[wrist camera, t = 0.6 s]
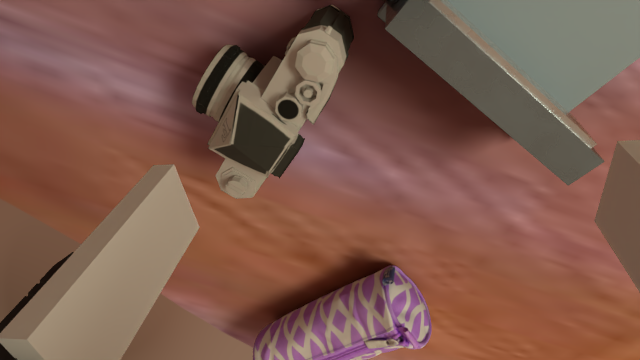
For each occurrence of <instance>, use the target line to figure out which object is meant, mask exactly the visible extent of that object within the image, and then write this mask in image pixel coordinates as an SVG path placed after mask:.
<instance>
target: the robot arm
mask: <svg viewBox="0 0 640 360" xmlns="http://www.w3.org/2000/svg"><path fill="white" fill-rule="evenodd" d="M595 223H596V224H597V226H598V227H599V229H600V230H601V232H602V234H603V235H604V237H605V238H606V240H607V241H608V243H609V245H610V246H611V248H612V249H613V251H614V252H615V254H616V256H617V257H618V259H619V260H620V262H621V263H622V265H623V267H624V268H625V270H626V271H627V273H628V275H629V276H630V278H631V279H632V281H633V282H634V284H635V286H636V287H637V289H638V290H639V292H640V140H632V141H617V144H616V148H615V151H614V155H613V158H612V162H611V165H610V169H609V172H608V176H607V179H606V183H605V186H604V189H603V193H602V196H601V200H600V203H599V207H598V210H597V214H596V217H595ZM198 229H199V225H198V223H197V220H196V218H195V215H194V213H193V210H192V208H191V205H190V203H189V200H188V198H187V195H186V193H185V190H184V188H183V185H182V183H181V180H180V178H179V175H178V173H177V171H176V168H175V166H174V164H172V165H153V167H152V168H151V169H150V170H149V171H148V172H147V173H146V174H145V175H144V176H143V178H142V179H141V180H140V181H139V182H138V183H137V184H136V185H135V186H134V187H133V188H132V190H131V191H130V192H129V193H128V194H127V195H126V196H125V197H124V198H123V199H122V200H121V202H120V203H119V204H118V205H117V206H116V207H115V208H114V209H113V210H112V211H111V213H110V214H109V215H108V216H107V217H106V218H105V219H104V220H103V221H102V222H101V223H100V225H99V226H98V227H97V228H96V229H95V230H94V231H93V232H92V233H91V234H90V235H89V237H88V238H87V239H86V240H85V241H84V242H83V243H82V244H81V245H80V246H79V248H78V249H77V250H76V251H75V252H72V253H71V254H69V255H68V256H67V257H65V258H64V259H62V260H61V261H59V262H58V263H57V264H55V265H54V266H53V267H52V268H51V269H50V270H49V271H48V272H47V273H46V275H45V276H44V277H43V278H42V279H41V280H40V283H39V284H36V285H35V286H34V287H33V289H31V291H30V292H29V293H28V296H25V297H24V298H23V299H22V300H21V301H20V302H19V304H18V305H16V307H15V308H14V309H13V310H12V311H11V312H10V313H9V314H8V315H7V316H6V317H5V318H4V319H3V320H2V321H1V323H0V360H121V358H122V356H123V355H124V353H125V351H126V349H127V348H128V346H129V344H130V343H131V341H132V339H133V338H134V336H135V334H136V333H137V331H138V329H139V328H140V326H141V324H142V323H143V321H144V319H145V318H146V316H147V314H148V313H149V311H150V309H151V308H152V306H153V304H154V303H155V301H156V299H157V298H158V296H159V294H160V293H161V291H162V289H163V288H164V286H165V284H166V283H167V281H168V279H169V278H170V276H171V274H172V273H173V271H174V269H175V268H176V266H177V264H178V262H179V261H180V259H181V257H182V256H183V254H184V252H185V251H186V249H187V247H188V246H189V244H190V242H191V241H192V239H193V237H194V236H195V234H196V232H197V231H198Z"/></svg>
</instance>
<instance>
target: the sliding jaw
mask: <svg viewBox="0 0 640 360" xmlns="http://www.w3.org/2000/svg"><path fill="white" fill-rule="evenodd" d="M383 1H384V2H385V3H386V4H387V8H386V21H385V29H386V30H387V31H388V32H389V33H390V34H391V35H393V36H394V37H395V38H396V39H397V40H398V41H400V42H401V43H402V44H403V45H404V46H405V47H407V48H408V49H409V50H410V51H411V52H412V53H414V54H415V55H416V56H417V57H418V58H419V59H421V60H422V61H423V62H424V63H425V64H426V65H428V66H429V67H430V68H431V69H432V70H433V71H435V72H436V73H437V74H438V75H439V76H441V77H442V78H443V79H444V80H445V81H446V82H448V83H449V84H450V85H451V86H452V87H453V88H455V89H456V90H457V91H458V92H459V93H460V94H462V95H463V96H464V97H465V98H466V99H467V100H469V101H470V102H471V103H472V104H473V105H474V106H476V107H477V108H478V109H479V110H480V111H481V112H483V113H484V114H485V115H486V116H487V117H488V118H490V119H491V120H492V121H493V122H494V123H496V124H497V125H498V126H499V127H500V128H501V129H503V130H504V131H505V132H506V133H507V134H508V135H510V136H511V137H512V138H513V139H514V140H515V141H517V142H518V143H519V144H520V145H521V146H522V147H524V148H525V149H526V150H527V151H528V152H529V153H531V154H532V155H533V156H534V157H535V158H536V159H538V160H539V161H540V162H541V163H542V164H543V165H545V166H546V167H547V168H548V169H549V170H551V171H552V172H553V173H554V174H555V175H556V176H558V177H559V178H560V179H561V180H562V181H563V182H565V183H566V184H567V185H570V184H571V183H573V182H574V181H576V180H577V179H579V178H580V177H582V176H583V175H585V174H586V173H588V172H589V171H591V170H592V169H594V168H595V167H597V166H598V165H600V164H601V163H603V162H604V160H603V159H602V158H601V157H600V155H599V154H598V153H597V152H596V151H595V149H594V148H593V147H594V146H595V145H597V143H596V142H595V141H594V140H593V139H592V137H591V136H590V135H589V134H588V133H587V132H586V130H585V129H584V128H583V127H582V126H581V125H580V123H579V122H578V121H577V120H576V119H575V117H574V116H573V115H571V114H570V113H569V112H568V111H567V110H566V109H565V108H564V107H563V106H562V105H561V104H559V103H558V102H557V101H556V100H555V99H554V98H553V97H552V96H551V95H550V94H549V93H548V92H546V91H545V90H544V89H543V88H542V87H541V86H540V85H539V84H538V83H537V82H536V81H535V80H533V79H532V78H531V77H530V76H529V75H528V74H527V73H526V72H525V71H524V70H523V69H521V68H520V67H519V66H518V65H517V64H516V63H515V62H514V61H513V60H512V59H511V58H510V57H508V56H507V55H506V54H505V53H504V52H503V51H502V50H501V49H500V48H499V47H498V46H496V45H495V44H494V43H493V42H492V41H491V40H490V39H489V38H488V37H487V36H486V35H485V34H483V33H482V32H481V31H480V30H479V29H478V28H477V27H476V26H475V25H474V24H473V23H472V22H470V21H469V20H468V19H467V18H466V17H465V16H464V15H463V14H462V13H461V12H460V11H458V10H457V9H456V8H455V7H454V6H453V5H452V4H451V3H450V2H449V1H448V0H383Z"/></svg>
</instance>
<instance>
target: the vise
mask: <svg viewBox="0 0 640 360" xmlns="http://www.w3.org/2000/svg"><path fill="white" fill-rule="evenodd" d="M448 1H449V2H450V3H451V4H452V5H453V6H454V7H455V8H456V9H457V10H458V11H460V12H461V13H462V14H463V15H464V16H465V17H466V18H467V19H468V20H469V21H470V22H472V23H473V24H474V25H475V26H476V27H477V28H478V29H479V30H480V31H481V32H482V33H483V34H485V35H486V36H487V37H488V38H489V39H490V40H491V41H492V42H493V43H494V44H495V45H496V46H498V47H499V48H500V49H501V50H502V51H503V52H504V53H505V54H506V55H507V56H508V57H510V58H511V59H512V60H513V61H514V62H515V63H516V64H517V65H518V66H519V67H520V68H521V69H523V70H524V71H525V72H526V73H527V74H528V75H529V76H530V77H531V78H532V79H533V80H535V81H536V82H537V83H538V84H539V85H540V86H541V87H542V88H543V89H544V90H545V91H546V92H548V93H549V94H550V95H551V96H552V97H553V98H554V99H555V100H556V101H557V102H558V103H559V104H561V105H562V106H563V107H564V108H565V109H566V110H567V111H568V112H569V111H571V110H572V109H573V108H575V107H576V106H577V105H579V104H580V103H581V102H582V101H584V100H585V99H586V98H588V97H589V96H590V95H591V94H593V93H594V92H595V91H597V90H598V89H599V88H601V87H602V86H603V85H604V84H606V83H607V82H608V81H610V80H611V79H612V78H614V77H615V76H616V75H617V74H619V73H620V72H621V71H623V70H624V69H625V68H627V67H628V66H629V65H630V64H632V63H633V62H634V61H636V60H637V59H638V58H640V0H448ZM386 8H387V4H386V3H384V5H383V6H382V7H381V8H380V10H379V11H378V17H379V18H380V19H382V20H383V21H384V22H385V21H386Z"/></svg>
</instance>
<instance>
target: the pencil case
mask: <svg viewBox="0 0 640 360" xmlns="http://www.w3.org/2000/svg"><path fill="white" fill-rule="evenodd" d="M430 336H431V319H430V314H429V310H428V307H427V304H426V302H425V299H424V297H423V295H422V294H421V292H420V291H419V289H418V288H417V286H416V285H415V284H414V282H413V281H412V280H411V279H410V278H409V277H407V276H406V275H405V274H404V273H403V272H402V270H401V269H400V268H398V267H397V266H394V265H393V266H391V265H390V266H387V267H385V268H383V269H382V270H380V271H378V272H376V273H375V274H372V275H369V276H367V277H365V278H362V279H359V280H357V281H355V282H353V283H351V284H348V285H346V286H344V287H342V288H339V289H337V290H335V291H333V292H331V293H329V294H327V295H325V296H322V297H320V298H318V299H316V300H314V301H312V302H310V303H308V304H306V305H305V306H303V307H301V308H299V309H296V310H294V311H292V312H290V313H288V314H287V315H285V316H283V317H281V318H280V319H278V320H276V321H274V322H273V323H271V324H269V325H267V326H265V327H264V328H263V329H262V330H261V331H260V333H259V334H258V336H257V338H256V341H255V344H254V349H253V360H367V359H370V358H372V357H375V356H377V355H379V354H381V353H385V352H390V351H393V350H396V349H399V348H403V347H406V348H409V349H420V348H423V347H424V346H425V345H426V344H427V342H428V341H429V338H430Z"/></svg>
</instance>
